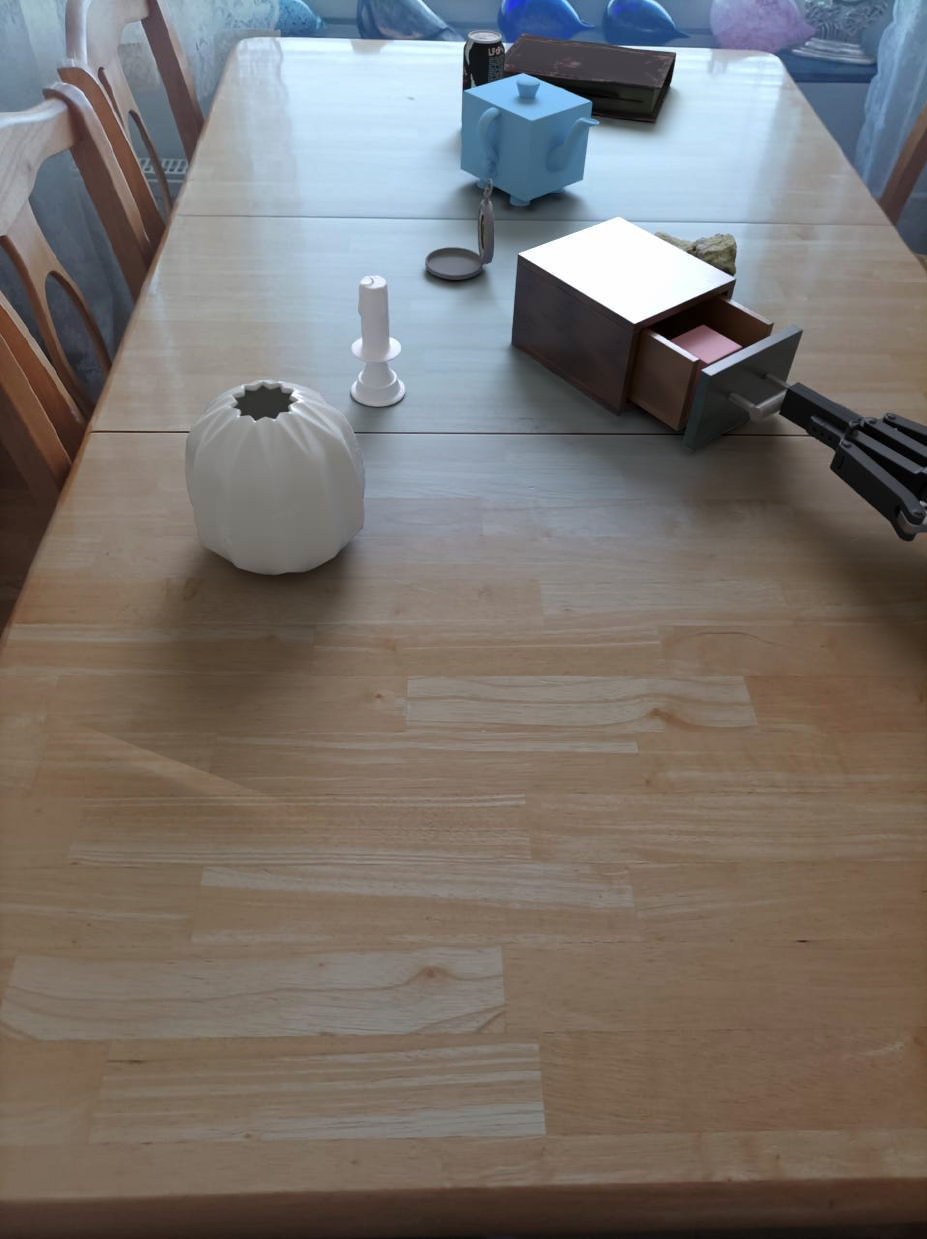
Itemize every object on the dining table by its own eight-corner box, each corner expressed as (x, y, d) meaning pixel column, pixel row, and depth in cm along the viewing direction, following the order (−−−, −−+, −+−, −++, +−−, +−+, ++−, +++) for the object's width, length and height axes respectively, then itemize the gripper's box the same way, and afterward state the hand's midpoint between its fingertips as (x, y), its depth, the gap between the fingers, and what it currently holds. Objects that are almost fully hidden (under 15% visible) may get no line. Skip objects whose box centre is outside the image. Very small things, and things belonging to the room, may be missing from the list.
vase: (252, 467, 83) (229, 332, 73) (396, 509, 80) (391, 373, 70) (164, 568, 74) (124, 430, 64) (321, 619, 71) (304, 482, 61)
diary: (520, 63, 155) (523, 29, 151) (671, 83, 151) (677, 48, 147) (491, 103, 143) (493, 66, 139) (654, 125, 138) (660, 88, 135)
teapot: (445, 186, 123) (447, 78, 113) (530, 156, 130) (538, 52, 120) (542, 237, 114) (552, 125, 104) (627, 202, 121) (644, 94, 111)
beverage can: (462, 119, 138) (464, 27, 129) (500, 121, 138) (506, 29, 129) (460, 135, 134) (462, 40, 125) (500, 137, 134) (505, 42, 125)
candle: (368, 413, 89) (361, 296, 80) (341, 386, 92) (331, 270, 83) (416, 396, 91) (414, 281, 82) (388, 370, 94) (384, 255, 85)
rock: (646, 259, 113) (631, 285, 106) (658, 204, 109) (644, 227, 102) (734, 278, 111) (726, 306, 104) (750, 223, 107) (743, 247, 100)
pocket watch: (413, 266, 108) (412, 177, 101) (469, 245, 112) (472, 158, 104) (459, 295, 104) (461, 205, 97) (515, 272, 108) (521, 184, 100)
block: (730, 391, 89) (742, 346, 86) (696, 408, 87) (708, 364, 84) (692, 368, 92) (703, 324, 88) (659, 384, 90) (668, 340, 86)
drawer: (812, 422, 88) (839, 348, 82) (724, 473, 83) (747, 398, 77) (668, 336, 98) (683, 264, 92) (580, 377, 92) (591, 303, 86)
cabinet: (713, 368, 96) (736, 278, 88) (617, 416, 90) (634, 324, 82) (605, 303, 104) (618, 216, 96) (510, 343, 98) (517, 253, 90)
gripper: (974, 621, 69) (729, 460, 81) (1062, 547, 75) (820, 407, 87) (1022, 547, 64) (751, 387, 76) (1113, 474, 69) (847, 335, 81)
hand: (788, 398), depth 81 cm, fingers closed
